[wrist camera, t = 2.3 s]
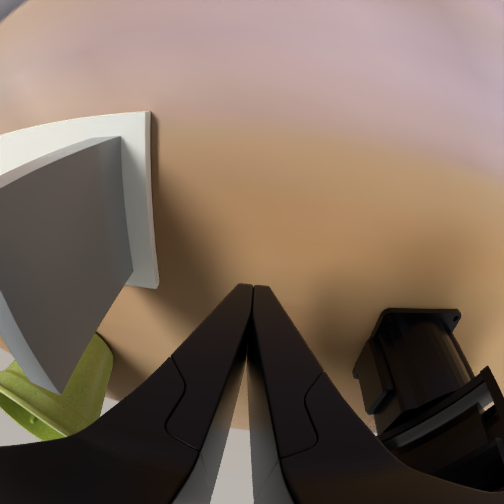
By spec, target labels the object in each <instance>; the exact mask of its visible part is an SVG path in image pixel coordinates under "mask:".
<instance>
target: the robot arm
mask: <svg viewBox="0 0 504 504" xmlns="http://www.w3.org/2000/svg"><path fill="white" fill-rule="evenodd" d="M388 316H389V317H388ZM460 318H461V313H460V312H459V310H458V309H412V308H387V309H385V310H384V311H383V312H382V313H381V315H380V317H379V319H378V321H377V323H376V326H375V328H374V330H373V332H372V334H371V336H370V338H369V339H368V340H367V342H366V344H365V346H364V348H363V350H362V352H361V354H360V356H359V358H358V360H357V362H356V366H355V368H354V369H353V372H352V373H353V377H354V378H355V379H359V382H360V386H361V391H362V396H363V400H364V405H365V410H366V412H367V414H368V415H374V420H375V425H376V430H377V434H378V435H377V436H375V435H374V434H373V433H372V431H371V430H370V429H369V428H368V427H367V426H366V425H365V423H364V422H363V421H362V420H361V419H360V418H359V417H358V415H357V414H356V413H355V412H354V411H353V409H352V408H351V407H350V406H349V405H348V403H347V402H346V401H345V400H344V398H343V397H342V396H341V394H340V393H339V391H338V390H337V388H336V387H335V386H334V384H333V383H332V381H331V380H330V378H329V377H328V375H327V374H326V372H323V371H324V370H323V368H322V366H321V365H320V363H319V362H318V360H317V359H316V357H315V356H314V354H313V353H312V351H311V350H310V348H309V347H308V345H307V343H306V342H305V340H304V339H303V337H302V336H301V334H300V333H299V331H298V330H297V328H296V327H295V325H294V324H293V322H292V321H291V319H290V318H289V316H288V314H287V313H286V311H285V310H284V308H283V307H282V305H281V304H280V302H279V301H278V299H277V298H276V296H275V295H274V293H273V292H272V290H271V288H270V287H269V286H263V285H255V286H254V288H253V285H251V284H243V283H239V284H237V285H236V287H235V288H234V289H233V290H232V291H231V292H230V293H229V294H228V295H227V296H226V297H225V298H224V299H223V300H222V302H221V303H220V304H219V305H218V306H217V307H216V308H215V309H214V310H213V311H212V312H211V313H210V314H209V315H208V316H207V318H206V319H205V320H204V321H203V322H202V323H201V324H200V325H199V326H198V327H197V328H196V329H195V330H194V331H193V332H192V334H191V335H190V336H189V337H188V338H187V339H186V340H185V341H184V342H183V343H182V344H181V345H180V346H179V347H178V348H177V349H176V350H175V351H174V353H173V354H172V355H171V357H169V358H168V359H167V360H166V361H165V362H164V363H163V364H162V365H161V366H160V367H159V368H158V369H157V370H156V371H155V372H154V373H153V374H152V375H151V376H150V377H149V378H148V379H147V380H146V381H145V382H143V383H142V384H141V385H140V386H139V387H137V388H136V389H135V390H134V391H133V392H131V393H130V394H129V395H128V396H127V397H125V398H124V399H123V400H121V401H120V402H119V403H118V404H116V405H115V406H114V407H113V408H111V409H110V410H109V411H107V412H106V413H105V414H104V415H102V416H101V417H100V418H98V419H97V420H96V421H94V422H93V423H92V424H90V425H89V426H87V427H86V428H84V429H83V430H81V431H79V432H77V433H75V434H73V435H70V436H67V437H63V438H59V439H53V440H47V441H41V442H35V443H28V444H20V445H11V446H0V504H210V501H211V496H212V493H213V490H214V486H215V482H216V479H217V475H218V471H219V467H220V463H221V459H222V456H223V452H224V448H225V444H226V440H227V437H228V433H229V429H230V425H231V421H232V417H233V413H234V409H235V405H236V401H237V397H238V393H239V389H240V385H241V380H242V376H243V372H244V368H245V363H246V357H247V385H248V406H249V426H250V445H251V463H252V481H253V496H254V504H504V397H503V395H502V393H501V390H500V388H499V386H498V384H497V382H496V380H495V378H494V376H493V374H492V372H491V370H490V368H489V366H488V365H487V366H486V367H485V368H484V369H482V370H481V371H480V372H481V373H480V374H478V375H477V376H476V377H475V376H474V374H473V372H472V370H471V367H470V365H469V363H468V361H467V360H466V358H465V356H464V354H463V352H462V350H461V348H460V346H459V344H458V342H457V341H456V339H455V337H454V335H453V333H452V332H453V330H454V328H455V327H456V325H457V323H458V322H459V320H460ZM247 348H248V349H247ZM492 401H493V402H494V405H493V406H492V407H490V408H489V409H488V410H486V411H484V409H483V408H484V407H485V406H487V405H488V404H489V403H491V402H492Z"/></svg>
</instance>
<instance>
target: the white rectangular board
mask: <svg viewBox="0 0 504 504" xmlns="http://www.w3.org/2000/svg"><path fill="white" fill-rule="evenodd" d="M150 116H151V111H144V112H129V113H117V114H107V115H98V116H90V117H83V118H76V119H70V120H64V121H58V122H53V123H48V124H43V125H38V126H33V127H29V128H24V129H20V130H16V131H12V132H9V133H5V134H1V135H0V175H2V174H4V173H6V172H8V171H10V170H12V169H15V168H17V167H19V166H21V165H23V164H25V163H28V162H30V161H32V160H34V159H37V158H39V157H41V156H44V155H46V154H49V153H51V152H54V151H56V150H59V149H62V148H64V147H67V146H70V145H72V144H75V143H78V142H81V141H84V140H87V139H90V138H96V137H109V136H121V160H122V178H123V191H124V202H125V212H126V221H127V230H128V237H129V245H130V252H131V258H132V265H133V273H132V274H131V276H130V277H129V279H128V280H127V282H126V283H125V285H131V286H137V287H144V288H151V289H157V287H158V285H159V283H160V282H159V273H158V265H157V255H156V245H155V234H154V222H153V207H152V189H151V159H150Z"/></svg>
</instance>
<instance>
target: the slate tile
mask: <svg viewBox="0 0 504 504" xmlns="http://www.w3.org/2000/svg"><path fill="white" fill-rule="evenodd" d="M132 273H133V265H132V258H131V252H130V245H129V237H128V230H127V221H126V212H125V202H124V191H123V178H122V160H121V136H109V137H96V138H90V139H87V140H84V141H81V142H78V143H75V144H72V145H70V146H67V147H64V148H62V149H59V150H56V151H54V152H51V153H49V154H46V155H44V156H41V157H39V158H37V159H34V160H32V161H30V162H28V163H25V164H23V165H21V166H19V167H17V168H15V169H12V170H10V171H8V172H6V173H4V174H2V175H0V336H1V337H2V339H3V341H4V342H5V344H6V346H7V347H8V349H9V351H10V352H11V354H12V355H13V357H14V358H15V360H16V361H17V363H18V364H19V366H20V367H21V369H22V370H23V372H24V373H25V375H26V376H27V377H28V379H29V380H30V381H31V382H32V383H34V384H36V385H38V386H40V387H43V388H45V389H47V390H49V391H52V392H54V393H56V394H59V395H62V393H63V391H64V389H65V387H66V385H67V383H68V381H69V379H70V377H71V375H72V373H73V371H74V369H75V368H76V366H77V364H78V362H79V360H80V358H81V357H82V355H83V353H84V351H85V349H86V348H87V346H88V344H89V342H90V341H91V339H92V337H93V335H94V334H95V332H96V330H97V328H98V327H99V325H100V323H101V322H102V320H103V318H104V317H105V315H106V314H107V312H108V310H109V309H110V307H111V305H112V304H113V302H114V301H115V299H116V297H117V296H118V294H119V293H120V291H121V290H122V288H123V287H124V285H125V283H126V282H127V280H128V279H129V277H130V276H131V274H132Z"/></svg>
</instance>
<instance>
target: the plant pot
mask: <svg viewBox="0 0 504 504" xmlns="http://www.w3.org/2000/svg"><path fill="white" fill-rule="evenodd" d="M112 368H113V355H112V352H111V351H110V349H109V347H108V346H107V345H106V343H105V342H104V341H103V340H102V339H101V338H100V337H99V336H98V335H97V334H96V333H95V334H94V335H93V337H92V339H91V341H90V342H89V344H88V346H87V348H86V349H85V351H84V353H83V355H82V357H81V358H80V360H79V362H78V364H77V366H76V368H75V369H74V371H73V373H72V375H71V377H70V379H69V381H68V383H67V385H66V387H65V389H64V391H63V393H62V395H59V394H56V393H54V392H52V391H49V390H47V389H45V388H43V387H40V386H38V385H36V384H34V383H32V382H31V381H30V380H29V379H28V377H27V376H26V375H25V373H24V372H23V370H22V369H21V367H20V366H19V364H18V363H17V361H16V360H14V362H12V364H11V365H10V366H9V367H8V368H7V369H6V370H4V371H1V372H0V408H1V409H2V410H3V411H4V412H5V413H6V414H7V415H8V416H9V417H10V418H12V419H13V420H14V421H15V422H16V423H17V424H18V425H20V426H21V427H22V428H24V429H25V430H26V431H28V432H29V433H30V434H32V435H34V436H35V437H36V438H38V439H39V440H41V441H47V440H53V439H59V438H63V437H67V436H70V435H73V434H75V433H77V432H79V431H81V430H83V429H84V428H86V427H87V426H89V425H90V424H92V423H93V422H94V421H96V420H97V419H98V418H100V414H101V409H102V405H103V401H104V397H105V393H106V389H107V385H108V382H109V378H110V375H111V371H112Z"/></svg>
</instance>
